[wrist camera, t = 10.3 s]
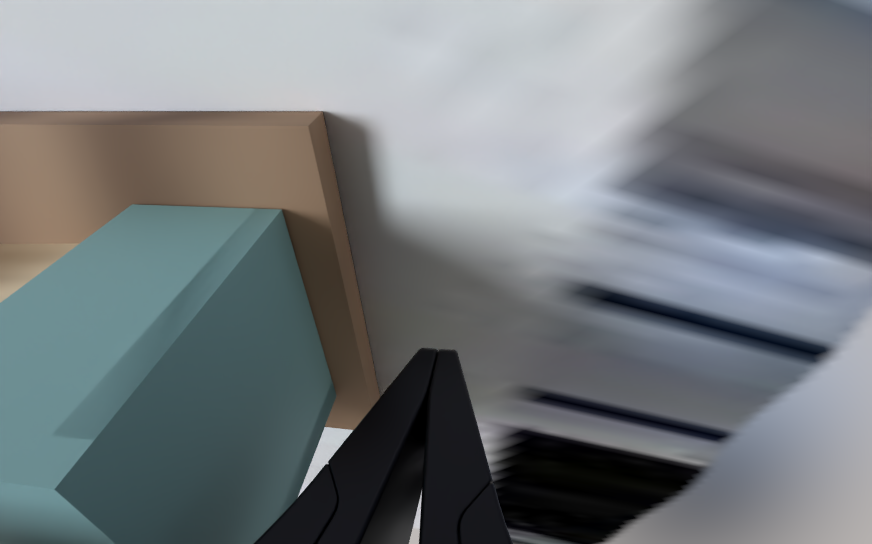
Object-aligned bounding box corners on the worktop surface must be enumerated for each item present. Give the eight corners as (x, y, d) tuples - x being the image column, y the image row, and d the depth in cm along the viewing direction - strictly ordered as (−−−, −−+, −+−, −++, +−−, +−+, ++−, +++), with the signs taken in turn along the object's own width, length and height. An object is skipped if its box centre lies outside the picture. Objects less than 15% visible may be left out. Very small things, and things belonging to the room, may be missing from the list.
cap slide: (281, 209, 10) (31, 517, 5) (336, 396, 14) (230, 671, 9) (132, 204, 10) (-233, 476, 5) (225, 385, 14) (66, 639, 9)
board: (322, 111, 9) (307, 125, 9) (382, 411, 15) (377, 432, 15) (-426, 111, 12) (-476, 121, 12) (-127, 360, 18) (-150, 376, 18)
